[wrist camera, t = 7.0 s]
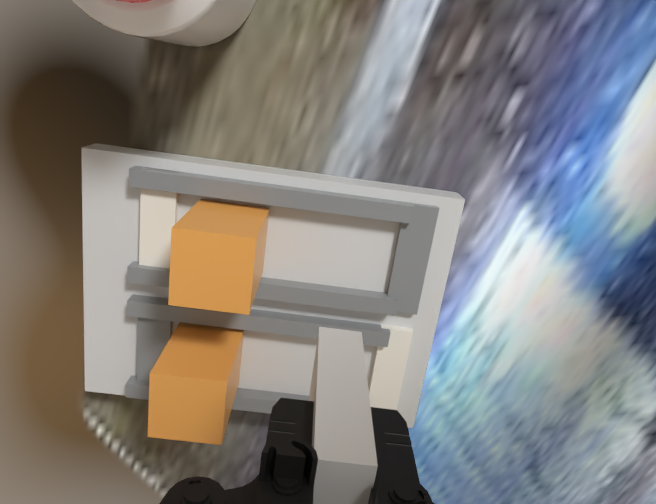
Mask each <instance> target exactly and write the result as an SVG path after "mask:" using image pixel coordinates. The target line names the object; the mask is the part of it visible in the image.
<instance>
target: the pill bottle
mask: <svg viewBox="0 0 656 504" xmlns="http://www.w3.org/2000/svg"><path fill="white" fill-rule="evenodd" d="M72 1H73V2H74V3H75V4H76V5H77V6H78V7H79V8H80V9H81V10H83V11H84V12H85V13H86V14H87V15H88V16H90V17H91V18H92V19H94V20H96V21H98V22H99V23H101V24H103V25H104V26H106V27H108V28H110V29H113V30H116V31H119V32H122V33H125V34H127V35H132V36H137V37H142V38H147V39H152V40H157V41H162V42H167V43H172V44H177V45H183V46H190V47H196V46H207V45H210V44H214V43H217V42H220V41H221V40H223V39H225V38H227V37H229V36H230V35H232V34H233V33H234V32H235V31H236V30H237V29H239V28H240V27H241V26H242V24H243V23H244V22H245V20H246V19H247V18H248V16H249V15H250V13H251V11H252V8H253V6H254V4H255V2H256V0H72Z"/></svg>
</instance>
